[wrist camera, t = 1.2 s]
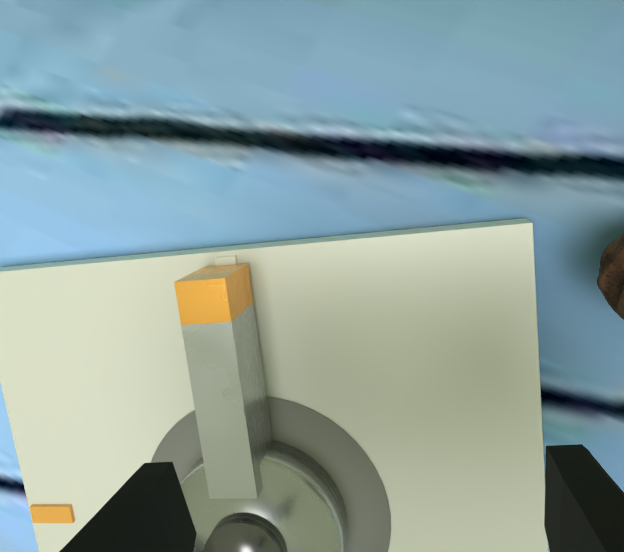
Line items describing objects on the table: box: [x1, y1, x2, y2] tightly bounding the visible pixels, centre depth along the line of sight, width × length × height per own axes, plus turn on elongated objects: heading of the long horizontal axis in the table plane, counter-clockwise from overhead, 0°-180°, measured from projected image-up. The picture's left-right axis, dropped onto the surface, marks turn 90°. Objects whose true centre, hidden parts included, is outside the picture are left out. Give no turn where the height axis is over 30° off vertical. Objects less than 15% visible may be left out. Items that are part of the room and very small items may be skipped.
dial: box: [174, 264, 348, 552], centre depth 22 cm, size 14×7×3 cm, turn 7°
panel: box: [0, 218, 548, 552], centre depth 25 cm, size 22×22×2 cm
